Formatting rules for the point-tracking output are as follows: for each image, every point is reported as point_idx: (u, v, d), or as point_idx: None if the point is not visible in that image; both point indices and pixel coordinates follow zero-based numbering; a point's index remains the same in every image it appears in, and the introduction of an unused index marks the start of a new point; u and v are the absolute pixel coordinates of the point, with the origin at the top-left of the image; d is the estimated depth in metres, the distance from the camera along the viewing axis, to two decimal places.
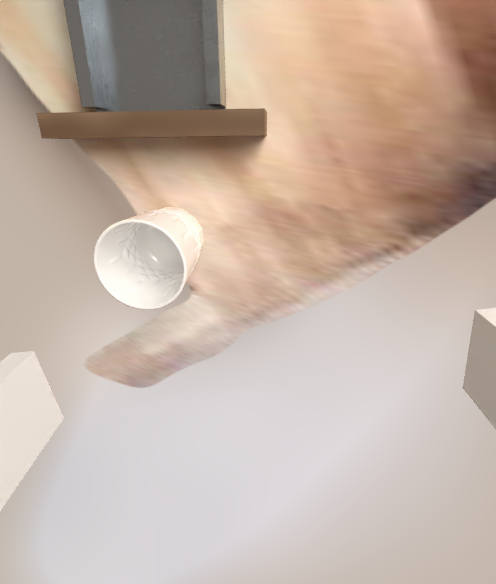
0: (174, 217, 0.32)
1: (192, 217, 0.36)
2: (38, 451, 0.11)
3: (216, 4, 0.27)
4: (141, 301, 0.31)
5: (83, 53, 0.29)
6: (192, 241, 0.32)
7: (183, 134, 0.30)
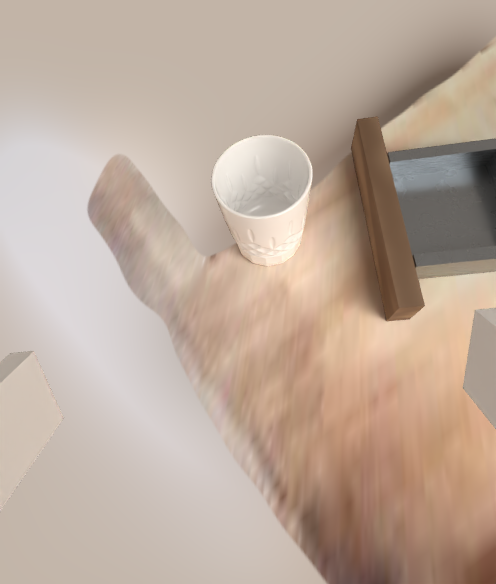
0: (303, 223, 0.31)
1: (294, 251, 0.35)
2: (38, 451, 0.11)
3: None
4: (217, 180, 0.29)
5: (431, 154, 0.34)
6: (281, 238, 0.30)
7: (383, 232, 0.31)
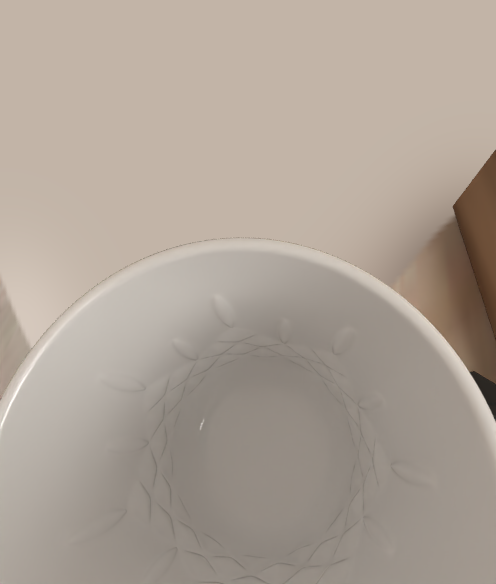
0: None
1: None
2: None
3: None
4: (35, 444, 0.06)
5: None
6: None
7: None
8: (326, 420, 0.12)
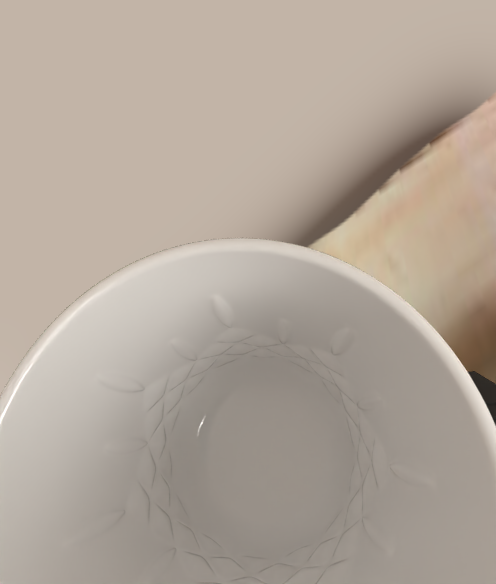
0: None
1: None
2: None
3: None
4: (33, 444, 0.06)
5: None
6: None
7: None
8: (325, 420, 0.12)
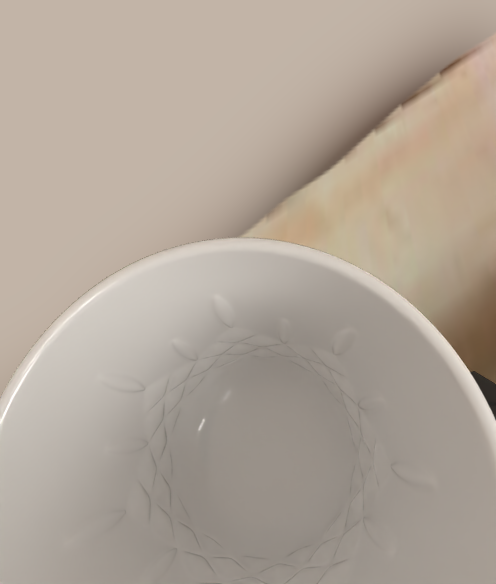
0: None
1: None
2: None
3: None
4: (34, 444, 0.06)
5: None
6: None
7: None
8: (326, 420, 0.12)
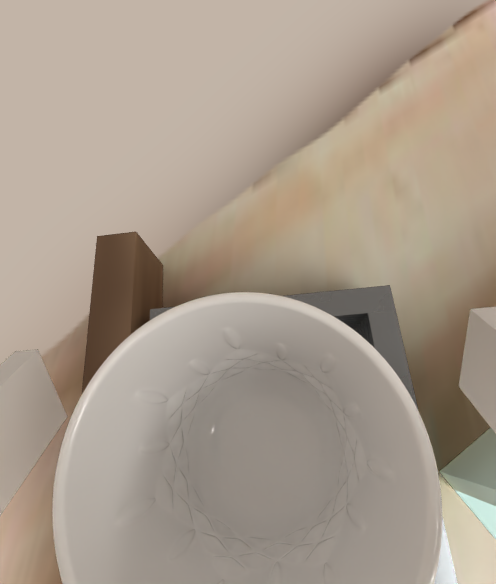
0: None
1: None
2: (42, 448, 0.11)
3: None
4: (94, 447, 0.08)
5: None
6: None
7: None
8: (319, 424, 0.15)
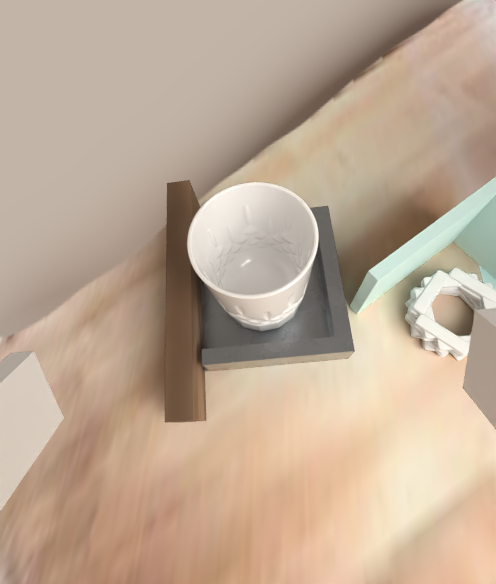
0: (305, 288, 0.25)
1: (294, 314, 0.28)
2: (38, 451, 0.11)
3: (294, 356, 0.26)
4: (196, 240, 0.22)
5: None
6: (279, 311, 0.23)
7: (167, 323, 0.27)
8: (289, 273, 0.28)
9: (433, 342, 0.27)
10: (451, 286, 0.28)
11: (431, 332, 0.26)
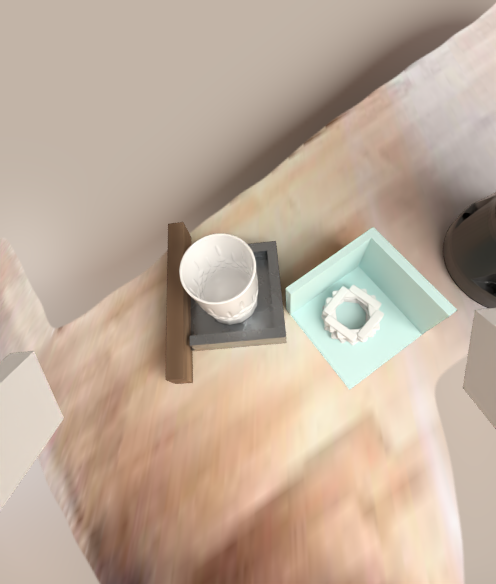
0: (254, 297, 0.39)
1: (251, 313, 0.43)
2: (38, 451, 0.11)
3: (248, 340, 0.40)
4: (185, 268, 0.37)
5: None
6: (236, 311, 0.38)
7: (167, 319, 0.41)
8: None
9: (336, 333, 0.41)
10: (350, 297, 0.42)
11: (333, 326, 0.41)
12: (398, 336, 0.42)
